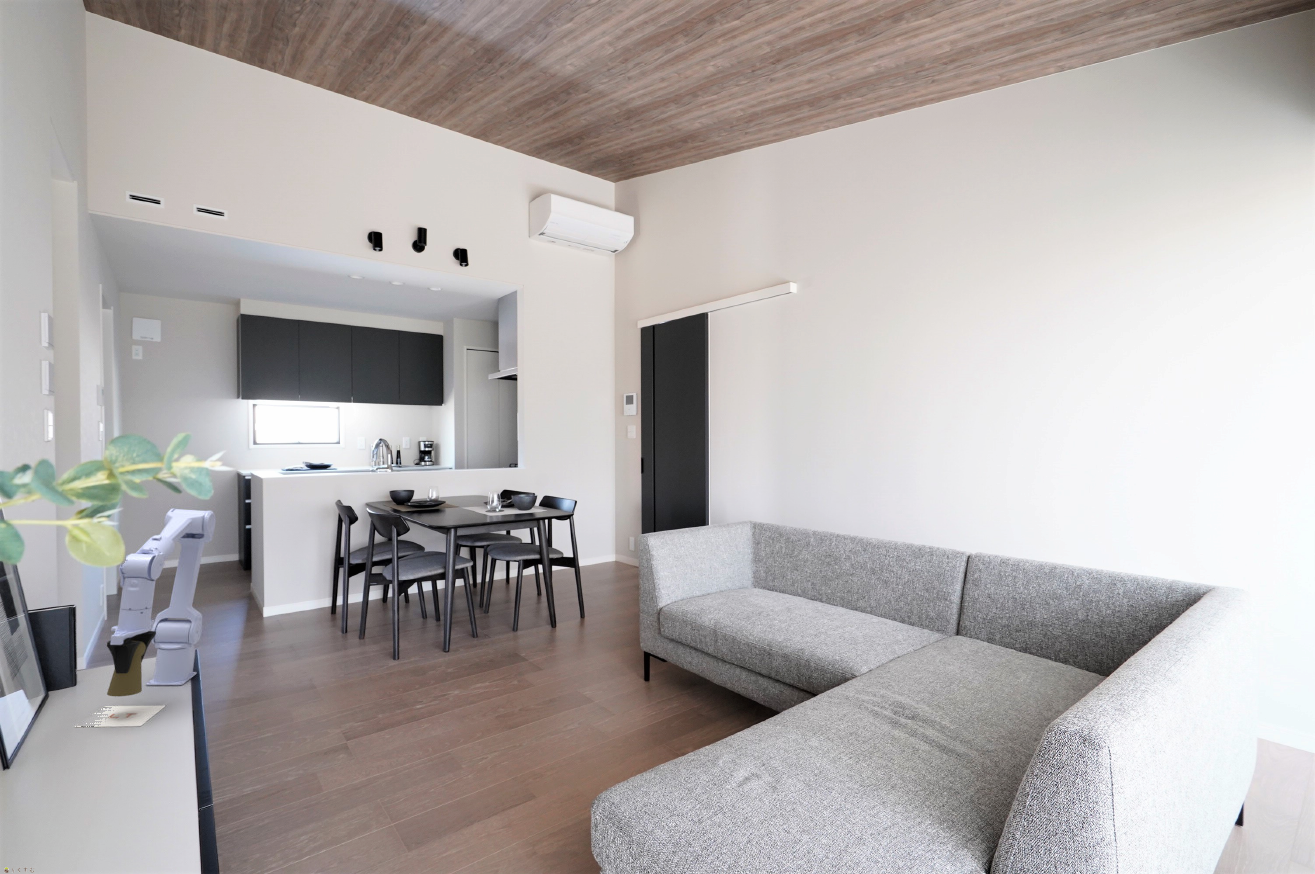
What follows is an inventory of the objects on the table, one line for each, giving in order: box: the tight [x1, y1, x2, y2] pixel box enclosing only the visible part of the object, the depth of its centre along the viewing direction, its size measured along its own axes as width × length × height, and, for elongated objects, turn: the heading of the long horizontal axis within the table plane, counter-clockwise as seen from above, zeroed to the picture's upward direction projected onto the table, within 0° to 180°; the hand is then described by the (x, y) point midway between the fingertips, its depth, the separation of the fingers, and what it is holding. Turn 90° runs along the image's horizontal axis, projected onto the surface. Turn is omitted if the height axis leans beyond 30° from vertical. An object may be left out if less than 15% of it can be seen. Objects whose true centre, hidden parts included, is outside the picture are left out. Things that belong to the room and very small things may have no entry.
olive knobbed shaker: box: [106, 641, 146, 697], centre depth 146 cm, size 6×6×11 cm
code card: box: [74, 705, 166, 728], centre depth 146 cm, size 12×12×1 cm
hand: (128, 668), depth 147 cm, fingers closed on olive knobbed shaker, 5 cm apart
